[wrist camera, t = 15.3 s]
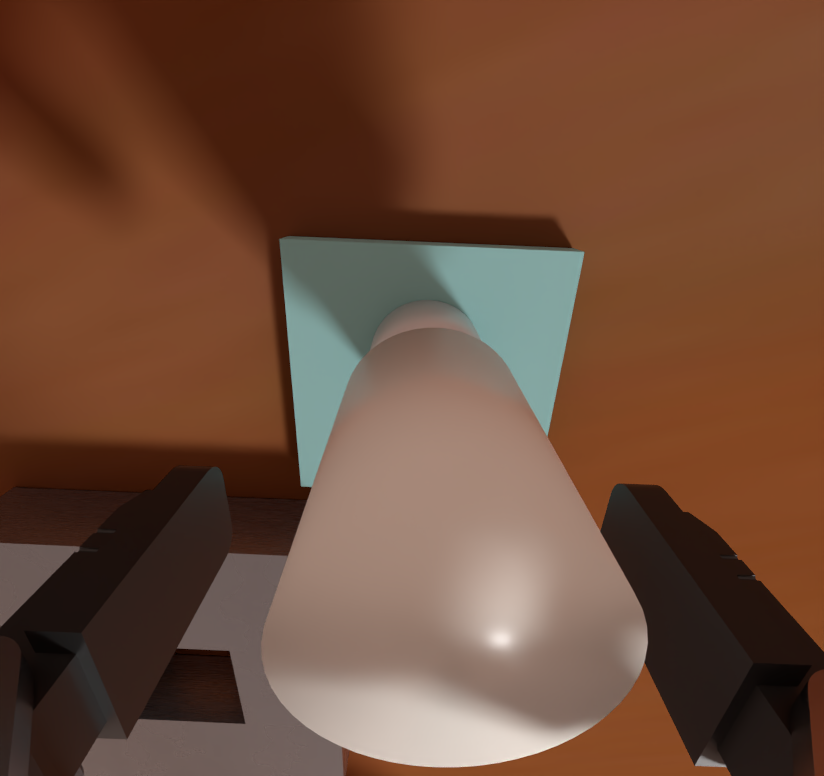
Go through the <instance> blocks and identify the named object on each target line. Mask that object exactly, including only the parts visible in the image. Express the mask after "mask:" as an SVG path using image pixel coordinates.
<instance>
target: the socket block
mask: <svg viewBox="0 0 824 776" xmlns="http://www.w3.org/2000/svg"><path fill="white" fill-rule="evenodd" d="M139 494H141V493H132V492H110V491H87V490H65V489H43V488H20V487H13V488H12V489H11V490H9V491H8V492H6V493H5V494H4V495H2V496H1V497H0V627H1V626H2V625H3V624H4V623H5V622H6V621H7V620H8V619H9V618H10V617H11V616H12V615H13V614H14V613H15V612H16V611H17V610H18V609H19V608H20V607H21V606H22V605H23V604H24V603H25V602H26V601H27V600H28V599H29V598H30V597H31V596H32V595H33V594H34V593H35V592H36V591H37V590H38V589H39V587H40V586H41V585H42V584H43V583H44V582H45V581H46V580H47V579H48V578H49V577H50V576H51V575H52V574H53V573H54V572H55V571H56V570H57V569H58V568H59V567H60V566H61V565H62V564H63V563H64V562H65V561H66V560H67V559H68V558H69V557H70V556H71V555H72V554H73V553H74V552H78V551H79V547H80V546H81V545H82V544H83V543H84V542H85V541H86V540H87V539H88V538H89V537H90V536H91V535H92V534H93V533H97V531H98V528H99V527H100V526H101V524H102V523H103V522H104V521H105V520H106V519H107V518H108V517H109V516H110V515H111V514H112V513H113V512H114V511H115V510H116V509H117V508H118V507H120V506H121V505H123V504H125V503H126V502H128V501H129V500H131V499H133V498H134V497H136V496H137V495H139ZM227 501H228V506H229V512H230V517H231V523H232V540H231V545H230V549H229V552H228V554H227V557H226V559H225V561H224V562H223V564H222V566H221V568H220V570H219V572H218V573H217V575H216V577H215V579H214V581H213V583H212V584H211V586H210V588H209V590H208V592H207V594H206V596H205V597H204V599H203V601H202V603H201V605H200V607H199V608H198V610H197V612H196V614H195V616H194V618H193V619H192V621H191V623H190V625H189V627H188V629H187V630H186V632H185V634H184V636H183V638H182V640H181V641H180V643H179V645H178V647H177V648H179V649H201V650H223V651H230V655H231V657H219V656H197V655H175V654H173V656H172V658H171V660H170V662H169V664H168V665H167V667H166V669H165V671H164V673H163V675H162V676H161V678H160V680H159V682H158V684H157V686H156V687H155V689H154V691H153V693H152V695H151V697H150V698H149V700H148V702H147V704H146V706H145V708H144V710H143V711H142V713H141V715H140V717H139V719H138V721H137V722H136V724H135V726H134V728H133V730H132V732H131V733H130V735H129V737H128V739H104V738H97V739H96V741H95V742H94V744H93V746H92V747H91V749H90V751H89V752H88V754H87V756H86V757H85V759H84V761H83V762H82V766H83V769H84V776H346V771H347V763H348V756H349V749H346V748H344V747H341V746H339V745H337V744H335V743H333V742H331V741H329V740H327V739H325V738H323V737H321V736H320V735H318V734H317V733H315V732H314V731H312V730H311V729H309V728H308V727H306V726H305V725H304V724H302V723H301V722H300V721H299V720H298V719H296V718H295V717H294V716H293V715H292V714H291V713H290V712H289V711H288V710H287V709H286V708H285V706H284V705H283V704H282V703H281V702H280V700H279V699H278V697H277V696H276V694H275V693H274V691H273V690H272V688H271V686H270V684H269V681H268V679H267V677H266V674H265V671H264V667H263V662H262V656H261V640H262V635H263V629H264V624H265V622H266V619H267V616H268V613H269V610H270V607H271V604H272V601H273V598H274V595H275V593H276V590H277V587H278V584H279V581H280V578H281V575H282V572H283V569H284V566H285V564H286V561H287V558H288V555H289V552H290V549H291V546H292V543H293V540H294V537H295V535H296V532H297V529H298V526H299V523H300V520H301V517H302V514H303V511H304V508H305V506H306V503H307V500H289V499H266V498H244V497H227Z"/></svg>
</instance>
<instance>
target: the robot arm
mask: <svg viewBox="0 0 824 776" xmlns="http://www.w3.org/2000/svg"><path fill="white" fill-rule="evenodd" d="M600 532H601V534H602V536H603V537H604V539H605V541H606V543H607V545H608V546H609V548H610V550H611V552H612V554H613V555H614V557H615V559H616V561H617V563H618V564H619V566H620V568H621V570H622V571H623V573H624V575H625V577H626V579H627V580H628V582H629V584H630V586H631V588H632V589H633V591H634V593H635V595H636V597H637V599H638V601H639V603H640V605H641V607H642V609H643V612H644V616H645V620H646V624H647V636H648V645H647V651H646V657H645V661H644V662H645V664H646V666H647V668H648V670H649V672H650V675H651V677H652V679H653V681H654V683H655V685H656V687H657V689H658V691H659V693H660V695H661V697H662V699H663V701H664V703H665V705H666V707H667V710H668V712H669V714H670V716H671V718H672V720H673V722H674V724H675V726H676V728H677V730H678V732H679V734H680V736H681V738H682V740H683V742H684V745H685V747H686V749H687V751H688V753H689V755H690V757H691V759H692V761H693V763H694V765H695V766H715V767H727V768H728V770H729V772H730V774H731V776H824V652H823V651H822V650H821V648H820V647H819V646H818V645H817V644H816V643H815V642H814V641H813V639H812V638H811V637H810V636H809V635H808V634H807V633H806V632H805V631H804V629H803V628H802V627H801V626H800V625H799V624H798V623H797V622H796V620H795V619H794V618H793V617H792V616H791V615H790V614H789V613H788V611H787V610H786V609H785V608H784V607H783V606H782V605H781V604H780V603H779V601H778V600H777V599H776V598H775V597H774V596H773V595H772V594H771V592H770V591H769V590H768V589H767V588H766V587H765V586H764V585H763V583H762V582H761V581H757V580H756V579H755V575H754V573H753V572H752V571H751V570H750V569H749V568H748V567H747V566H746V564H745V563H744V562H743V561H742V560H738V558H737V554H736V553H735V552H734V551H733V550H732V549H731V548H730V547H729V545H728V544H727V543H726V542H725V541H724V540H723V539H722V538H721V536H720V535H719V534H718V533H717V532H716V531H714V530H713V529H712V528H710V527H709V526H707V525H706V524H704V523H703V522H702V521H700V520H699V519H697V518H696V517H695V516H693V515H692V514H690V513H689V512H683V511H682V510H681V509H680V508H679V507H678V505H677V504H676V503H675V502H674V501H673V499H672V498H671V497H670V496H669V495H668V493H667V492H666V491H665V490H664V489H663V488H662V487H660V486H658V485H641V484H617V485H616V486H615V487H614V488H613V490H612V493H611V496H610V499H609V503H608V507H607V510H606V514H605V517H604V521H603V524H602V528H601V531H600ZM231 540H232V523H231V517H230V512H229V506H228V501H227V495H226V490H225V484H224V479H223V474H222V472H221V470H220V469H219V468H218V467H206V466H176V467H175V468H173V469H172V470H171V471H170V472H169V473H168V475H167V476H166V477H165V478H164V479H163V480H162V481H161V482H160V483H159V484H158V485H157V486H156V488H155V489H154V490H146V491H144V492H142V493H141V494H139V495H137V496H136V497H134V498H133V499H131V500H129V501H128V502H126V503H125V504H123V505H121V506H120V507H118V508H117V509H116V510H115V511H114V512H113V513H112V514H111V515H110V516H109V517H108V518H107V519H106V520H105V521H104V522H103V523H102V524H101V526H100V527H99V528H98V531H97V533H93V534H92V535H91V536H90V537H89V538H88V539H87V540H86V541H85V542H84V543H83V544H82V545H81V546H80V547H79V551H78V552H74V553H73V554H72V555H71V556H70V557H69V558H68V559H67V560H66V561H65V562H64V563H63V564H62V565H61V566H60V567H59V568H58V569H57V570H56V571H55V572H54V573H53V574H52V575H51V576H50V577H49V578H48V579H47V580H46V581H45V582H44V583H43V584H42V585H41V586H40V587H39V589H38V590H37V591H36V592H35V593H34V594H33V595H32V596H31V597H30V598H29V599H28V600H27V601H26V602H25V603H24V604H23V605H22V606H21V607H20V608H19V609H18V610H17V611H16V612H15V613H14V614H13V615H12V616H11V617H10V618H9V619H8V620H7V621H6V622H5V623H4V624H3V625H2V626H1V627H0V776H84V769H83V766H82V762H83V761H84V759H85V757H86V756H87V754H88V752H89V751H90V749H91V747H92V746H93V744H94V742H95V741H96V739H97V738H104V739H128V737H129V735H130V733H131V732H132V730H133V728H134V726H135V724H136V722H137V721H138V719H139V717H140V715H141V713H142V711H143V710H144V708H145V706H146V704H147V702H148V700H149V698H150V697H151V695H152V693H153V691H154V689H155V687H156V686H157V684H158V682H159V680H160V678H161V676H162V675H163V673H164V671H165V669H166V667H167V665H168V664H169V662H170V660H171V658H172V656H173V654H174V653H175V651H176V649H177V647H178V645H179V643H180V641H181V640H182V638H183V636H184V634H185V632H186V630H187V629H188V627H189V625H190V623H191V621H192V619H193V618H194V616H195V614H196V612H197V610H198V608H199V607H200V605H201V603H202V601H203V599H204V597H205V596H206V594H207V592H208V590H209V588H210V586H211V584H212V583H213V581H214V579H215V577H216V575H217V573H218V572H219V570H220V568H221V566H222V564H223V562H224V561H225V559H226V557H227V554H228V552H229V549H230V545H231Z"/></svg>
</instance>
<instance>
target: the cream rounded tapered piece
mask: <svg viewBox="0 0 824 776" xmlns="http://www.w3.org/2000/svg"><path fill="white" fill-rule="evenodd" d="M647 645H648V636H647V624H646V620H645V616H644V612H643V609H642V607H641V605H640V603H639V601H638V599H637V597H636V595H635V593H634V591H633V589H632V588H631V586H630V584H629V582H628V580H627V579H626V577H625V575H624V573H623V571H622V570H621V568H620V566H619V564H618V563H617V561H616V559H615V557H614V555H613V554H612V552H611V550H610V548H609V546H608V545H607V543H606V541H605V539H604V537H603V536H602V534H601V532H600V530H599V529H598V527H597V525H596V523H595V521H594V520H593V518H592V516H591V514H590V512H589V511H588V509H587V507H586V505H585V504H584V502H583V500H582V498H581V496H580V495H579V493H578V491H577V489H576V487H575V486H574V484H573V482H572V480H571V478H570V477H569V475H568V473H567V471H566V470H565V468H564V466H563V464H562V462H561V461H560V459H559V457H558V455H557V453H556V452H555V450H554V448H553V446H552V444H551V443H550V441H549V439H548V437H547V436H546V434H545V432H544V430H543V428H542V427H541V425H540V423H539V421H538V419H537V418H536V416H535V414H534V412H533V410H532V409H531V407H530V405H529V403H528V402H527V400H526V398H525V396H524V394H523V393H522V391H521V389H520V387H519V385H518V384H517V382H516V380H515V378H514V376H513V375H512V373H511V371H510V369H509V368H508V366H507V365H506V363H505V362H504V360H503V359H502V358H501V357H500V356H499V355H498V354H497V353H496V352H495V351H494V350H493V349H492V348H491V347H489V346H488V345H487V344H486V343H484V342H482V341H481V339H480V337H479V335H478V332H477V330H476V329H475V327H474V325H473V323H472V322H471V321H470V319H469V318H468V317H467V316H466V315H465V314H464V313H462V312H461V311H460V310H459V309H457V308H455V307H454V306H451V305H449V304H447V303H444V302H440V301H434V300H419V301H414V302H410V303H407V304H404V305H402V306H400V307H398V308H397V309H395V310H394V311H392V312H391V313H390V314H388V315H387V316H386V317H385V318H384V320H383V321H382V322H381V323H380V325H379V327H378V328H377V330H376V332H375V335H374V337H373V341H372V345H371V348H370V351H369V352H368V353H367V354H366V355H365V356H364V357H363V358H362V359H361V361H360V362H359V363H358V365H357V366H356V367H355V369H354V371H353V373H352V374H351V376H350V379H349V381H348V384H347V387H346V390H345V392H344V395H343V398H342V401H341V404H340V407H339V410H338V413H337V416H336V419H335V421H334V424H333V427H332V430H331V433H330V436H329V439H328V442H327V445H326V448H325V450H324V453H323V456H322V459H321V462H320V465H319V468H318V471H317V474H316V477H315V479H314V482H313V485H312V488H311V491H310V494H309V497H308V500H307V503H306V506H305V508H304V511H303V514H302V517H301V520H300V523H299V526H298V529H297V532H296V535H295V537H294V540H293V543H292V546H291V549H290V552H289V555H288V558H287V561H286V564H285V566H284V569H283V572H282V575H281V578H280V581H279V584H278V587H277V590H276V593H275V595H274V598H273V601H272V604H271V607H270V610H269V613H268V616H267V619H266V622H265V624H264V629H263V635H262V640H261V656H262V662H263V667H264V671H265V674H266V677H267V679H268V681H269V684H270V686H271V688H272V690H273V691H274V693H275V694H276V696H277V697H278V699H279V700H280V702H281V703H282V704H283V705H284V706H285V708H286V709H287V710H288V711H289V712H290V713H291V714H292V715H293V716H294V717H295V718H296V719H298V720H299V721H300V722H301V723H302V724H304V725H305V726H306V727H308V728H309V729H311V730H312V731H314V732H315V733H317V734H318V735H320V736H321V737H323V738H325V739H327V740H329V741H331V742H333V743H335V744H337V745H339V746H341V747H344V748H346V749H349V750H351V751H353V752H356V753H359V754H363V755H366V756H369V757H372V758H376V759H380V760H385V761H389V762H394V763H400V764H407V765H414V766H427V767H466V766H479V765H486V764H494V763H500V762H505V761H509V760H514V759H519V758H522V757H526V756H529V755H533V754H536V753H539V752H542V751H544V750H547V749H550V748H552V747H555V746H557V745H559V744H562V743H564V742H566V741H568V740H570V739H572V738H574V737H576V736H578V735H579V734H581V733H583V732H584V731H586V730H588V729H589V728H591V727H592V726H594V725H595V724H596V723H598V722H599V721H600V720H602V719H603V718H604V717H606V716H607V715H608V714H609V713H610V712H611V711H612V710H613V709H614V708H615V707H617V706H618V705H619V704H620V702H621V701H622V700H623V699H624V698H625V696H626V695H627V694H628V693H629V691H630V690H631V688H632V687H633V685H634V683H635V682H636V680H637V678H638V677H639V675H640V672H641V669H642V667H643V664H644V661H645V657H646V651H647Z"/></svg>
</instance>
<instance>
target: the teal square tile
mask: <svg viewBox="0 0 824 776" xmlns="http://www.w3.org/2000/svg"><path fill="white" fill-rule="evenodd" d="M279 241H280V252H281V264H282V275H283V286H284V298H285V309H286V321H287V332H288V343H289V355H290V366H291V378H292V389H293V400H294V412H295V423H296V435H297V446H298V457H299V469H300V480H301V486H302V487H312V485H313V482H314V479H315V477H316V474H317V471H318V468H319V465H320V462H321V459H322V456H323V453H324V450H325V448H326V445H327V442H328V439H329V436H330V433H331V430H332V427H333V424H334V421H335V419H336V416H337V413H338V410H339V407H340V404H341V401H342V398H343V395H344V392H345V390H346V387H347V384H348V381H349V379H350V376H351V374H352V373H353V371H354V369H355V367H356V366H357V365H358V363H359V362H360V361H361V359H362V358H363V357H364V356H365V355H366V354H367V353H368V352H369V351H370V348H371V345H372V341H373V337H374V335H375V332H376V330H377V328H378V327H379V325H380V323H381V322H382V321H383V320H384V318H385V317H386V316H387V315H388V314H390V313H391V312H392V311H394V310H395V309H397V308H398V307H400V306H402V305H404V304H407V303H410V302H414V301H419V300H434V301H440V302H444V303H447V304H449V305H451V306H454V307H455V308H457V309H459V310H460V311H461V312H462V313H464V314H465V315H466V316H467V317H468V318H469V319H470V321H471V322H472V323H473V325H474V327H475V329H476V330H477V332H478V335H479V337H480V339H481V341H482V342H484V343H486V344H487V345H488V346H489V347H491V348H492V349H493V350H494V351H495V352H496V353H497V354H498V355H499V356H500V357H501V358H502V359H503V360H504V362H505V363H506V365H507V366H508V368H509V369H510V371H511V373H512V375H513V376H514V378H515V380H516V382H517V384H518V385H519V387H520V389H521V391H522V393H523V394H524V396H525V398H526V400H527V402H528V403H529V405H530V407H531V409H532V410H533V412H534V414H535V416H536V418H537V419H538V421H539V423H540V425H541V427H542V428H543V430H544V432H545V434H546V436H548V431H549V426H550V421H551V416H552V411H553V406H554V401H555V396H556V391H557V386H558V381H559V376H560V371H561V366H562V361H563V356H564V351H565V346H566V341H567V336H568V331H569V326H570V321H571V316H572V311H573V306H574V301H575V296H576V291H577V287H578V282H579V277H580V272H581V267H582V262H583V257H584V252H583V251H580V250H577V249H574V248H556V247H533V246H510V245H486V244H463V243H440V242H416V241H393V240H370V239H347V238H323V237H300V236H287V237H284V238H281V239H279Z"/></svg>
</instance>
